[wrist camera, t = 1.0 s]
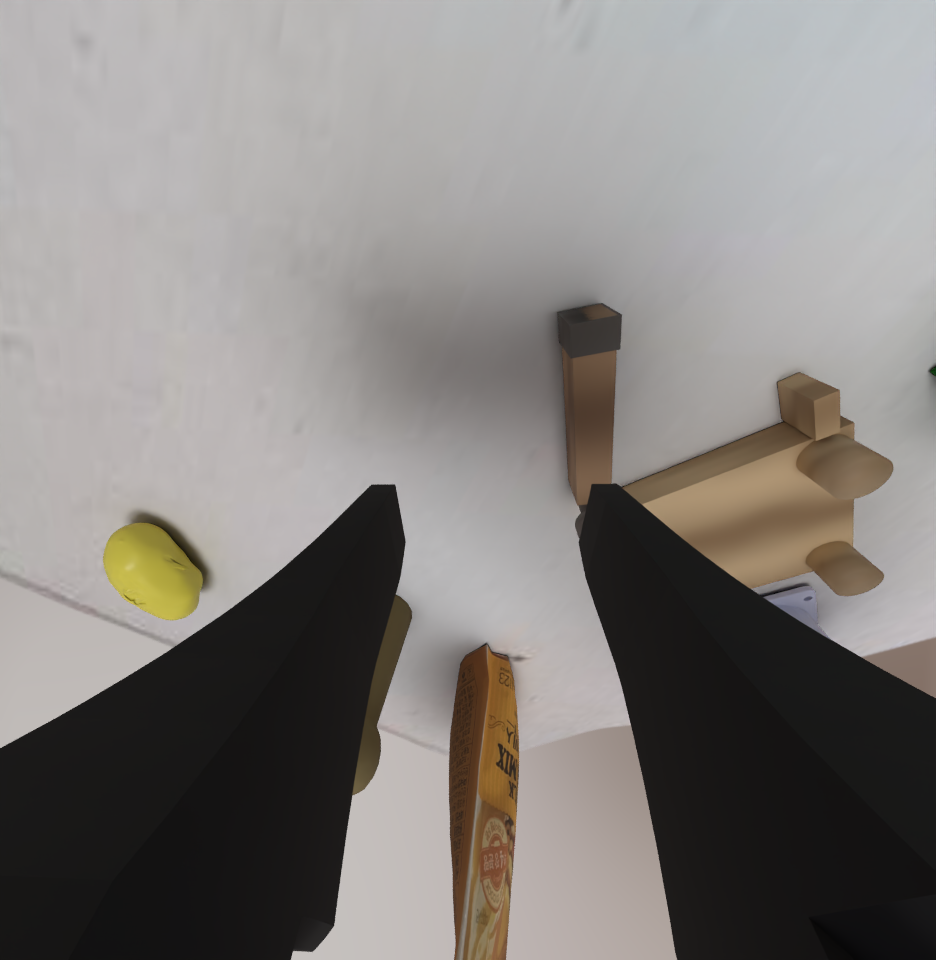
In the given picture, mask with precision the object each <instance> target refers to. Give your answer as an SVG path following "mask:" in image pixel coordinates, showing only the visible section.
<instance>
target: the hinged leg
mask: <svg viewBox="0 0 936 960" xmlns="http://www.w3.org/2000/svg"><path fill="white" fill-rule="evenodd" d="M621 321H622V315H621V314H620V313H618V312H616V311H615V310H613V309H611V308H610V307H608V306H606V305H605V304H603V303H601V304H596V305H592V306H587V307H582V308H577V309H572V310H568V311H563V312H558V329H559V343H560V344H561V346H562V354H563V376H564V397H565V419H566V440H567V461H568V480H569V483H570V486H571V489H572V492H573V495H574V497H575V500H576V503H577V506H578V505H585V504H587V503H588V499H589V494H590V489H591V485H592V484H611V478H612V453H613V427H614V402H615V376H616V351H617V350H619V349H620V343H621Z"/></svg>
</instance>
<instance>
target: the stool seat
mask: <svg viewBox="0 0 936 960" xmlns="http://www.w3.org/2000/svg"><path fill="white" fill-rule="evenodd" d="M777 383H778V392H779V400H780V409H781V418H782V420H784V421H785V422H782V423H780V424H777V425H775V426H772V427H770V428H767V429H765V430H762V431H760V432H757V433H755V434H753V435H750V436H748V437H745V438H743V439H740V440H738V441H735V442H733V443H730V444H728V445H725V446H723V447H721V448H718V449H716V450H713V451H711V452H708V453H706V454H703V455H701V456H698V457H696V458H693V459H691V460H689V461H686V462H684V463H681V464H679V465H676V466H674V467H671V468H669V469H666V470H664V471H662V472H659V473H657V474H654V475H652V476H649V477H647V478H644V479H642V480H639V481H637V482H634V483H632V484H630V485H627V486H625V487H622V488H623V489H624V490H625V491H626V492H628V493H629V494H630V495H631V496H632V497H634V498H635V499H636V500H637V501H638V502H639V503H641V504H642V505H643V506H644V507H645V508H646V509H648V510H649V511H650V512H651V513H652V514H654V515H655V516H656V517H657V518H658V519H659V520H661V521H662V522H663V523H664V524H665V525H667V526H668V527H669V528H670V529H672V530H673V531H674V532H675V533H676V534H678V535H679V536H680V537H681V538H683V539H684V540H685V541H686V542H688V543H689V544H690V545H691V546H693V547H694V548H695V549H697V550H698V551H699V552H700V553H702V554H703V555H704V556H706V557H707V558H708V559H710V560H711V561H712V562H714V563H715V564H716V565H718V566H719V567H720V568H722V569H723V570H725V571H726V572H727V573H729V574H730V575H731V576H733V577H734V578H735V579H737V580H738V581H740V582H741V583H743V584H744V585H746V586H747V587H748V588H750V589H751V588H755V587H759V586H762V585H766V584H769V583H773V582H776V581H780V580H784V579H787V578H791V577H794V576H798V575H801V574H805V573H809V572H812V571H814V572H815V573H816V574H817V575H818V576H819V577H820V578H821V579H822V580H823V581H824V582H825V583H826V584H827V585H828V586H829V587H830V588H831V589H832V590H833V591H834V592H835V593H836V594H837V595H840V596H853V595H858V594H862V593H865V592H867V591H869V590H871V589H873V588H875V587H876V586H877V585H879V584H880V583H881V582H882V580H883V578H884V574H883V572H881V571H880V570H879V569H878V568H877V567H876V566H874V565H873V564H872V563H871V562H870V561H869V560H867V559H866V558H865V557H864V556H863V555H861V554H860V553H859V552H858V551H857V550H856V549H854V548H853V509H854V499H855V498H859V497H862V496H865V495H867V494H869V493H871V492H873V491H875V490H876V489H878V488H879V487H881V486H882V485H883V484H884V483H885V482H886V481H887V480H888V479H889V477H890V476H891V474H892V472H893V464H892V462H891V461H890V460H888V459H887V458H885V457H883V456H881V455H880V454H878V453H876V452H874V451H872V450H871V449H869V448H867V447H865V446H864V445H862V444H860V443H858V442H856V441H855V440H854V422H852V421H850V420H848V419H846V418H844V417H842V416H840V390H838V389H836V388H834V387H831V386H829V385H827V384H825V383H822V382H820V381H818V380H816V379H814V378H811V377H809V376H807V375H805V374H802V373H800V372H799V373H797V374H795V375H793V376H790V377H788V378H786V379H784V380H781V381H779V382H777ZM578 506H579V508H580V511H581V514H580V515H579V516H578V517H577V519H576V522H575V527H576V530H577V533H578V536H579V538H580V535H581V530H582V526H583V521H584V517H585V512H586V508H587V504H585V505H578Z"/></svg>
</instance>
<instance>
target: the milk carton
mask: <svg viewBox="0 0 936 960" xmlns="http://www.w3.org/2000/svg"><path fill="white" fill-rule="evenodd" d="M930 372H931V373H932V374H933V375H935V376H936V367H935V368H934V369H932V370H931V371H930Z"/></svg>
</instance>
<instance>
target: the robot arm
mask: <svg viewBox="0 0 936 960" xmlns="http://www.w3.org/2000/svg"><path fill="white" fill-rule="evenodd" d="M579 546H580V552H581V557H582V562H583V567H584V571H585V576H586V580H587V583H588V586H589V589H590V592H591V595H592V598H593V601H594V604H595V607H596V610H597V613H598V616H599V619H600V621H601V624H602V627H603V630H604V633H605V636H606V639H607V642H608V645H609V648H610V651H611V653H612V656H613V659H614V662H615V665H616V669H617V672H618V675H619V679H620V682H621V685H622V689H623V694H624V698H625V702H626V706H627V710H628V714H629V718H630V723H631V727H632V731H633V735H634V739H635V744H636V749H637V753H638V758H639V762H640V767H641V771H642V775H643V780H644V785H645V790H646V795H647V800H648V805H649V810H650V815H651V819H652V825H653V830H654V834H655V840H656V844H657V850H658V855H659V861H660V867H661V872H662V877H663V883H664V889H665V894H666V899H667V905H668V911H669V917H670V922H671V929H672V935H673V941H674V947H675V953H676V957H677V960H936V698H934V697H932V696H930V695H928V694H926V693H925V692H923V691H921V690H919V689H917V688H915V687H913V686H912V685H910V684H908V683H906V682H904V681H903V680H901V679H899V678H897V677H895V676H893V675H891V674H890V673H888V672H886V671H884V670H882V669H880V668H879V667H877V666H875V665H873V664H872V663H870V662H868V661H866V660H865V659H863V658H861V657H860V656H858V655H856V654H855V653H853V652H851V651H849V650H848V649H846V648H844V647H842V646H841V645H839V644H837V643H836V642H834V641H832V640H831V639H830V638H829V637H828V636H827V635H826V633H825V632H824V631H823V630H822V629H821V628H820V626H819V625H818V615H817V603H816V592H815V590H814V589H813V588H812V587H810V586H802V587H799V588H795V589H791V590H788V591H784V592H780V593H776V594H773V595H769V596H765V597H762V596H760V595H759V594H757V593H756V592H754V591H753V590H751V589H750V588H748V587H747V586H746V585H744V584H743V583H741V582H740V581H738V580H737V579H735V578H734V577H733V576H731V575H730V574H729V573H727V572H726V571H725V570H723V569H722V568H720V567H719V566H718V565H716V564H715V563H714V562H712V561H711V560H710V559H708V558H707V557H706V556H704V555H703V554H702V553H700V552H699V551H698V550H697V549H695V548H694V547H693V546H691V545H690V544H689V543H688V542H686V541H685V540H684V539H683V538H681V537H680V536H679V535H678V534H676V533H675V532H674V531H673V530H672V529H670V528H669V527H668V526H667V525H665V524H664V523H663V522H662V521H661V520H659V519H658V518H657V517H656V516H655V515H654V514H652V513H651V512H650V511H649V510H648V509H646V508H645V507H644V506H643V505H642V504H641V503H639V502H638V501H637V500H636V499H635V498H634V497H632V496H631V495H630V494H629V493H628V492H626V491H625V490H624V489H623V488H621V487H620V486H619V485H618V484H592V485H591V489H590V494H589V499H588V503H587V508H586V512H585V517H584V521H583V526H582V530H581V535H580V539H579ZM404 549H405V536H404V531H403V525H402V520H401V514H400V508H399V503H398V497H397V492H396V486H395V485H371V486H370V487H369V488H368V489H367V490H366V491H365V492H364V493H363V494H362V495H361V496H360V497H359V498H358V499H356V500H355V501H354V502H353V503H352V504H351V505H350V506H349V508H348V509H347V510H345V511H344V512H343V513H342V514H341V515H340V516H339V517H338V518H337V519H336V520H335V521H334V522H333V523H332V524H331V525H330V526H329V527H328V528H327V529H326V530H325V531H324V532H323V533H322V534H321V535H320V536H319V537H318V538H317V539H316V540H315V541H313V542H312V543H311V544H310V545H309V546H308V547H307V548H305V549H304V550H303V551H302V552H301V553H300V554H299V555H297V556H296V557H295V558H294V559H293V560H292V561H291V562H290V563H288V564H287V565H286V566H285V567H284V568H283V569H282V570H280V571H279V572H278V573H277V574H275V575H274V576H273V577H272V578H271V579H269V580H268V581H267V582H265V583H264V584H263V585H262V586H260V587H259V588H258V589H257V590H255V591H254V592H253V593H251V594H250V595H249V596H247V597H246V598H245V599H243V600H242V601H241V602H239V603H238V604H237V605H235V606H234V607H233V608H231V609H230V610H228V611H227V612H226V613H224V614H223V615H221V616H220V617H218V618H217V619H215V620H214V621H212V622H211V623H209V624H208V625H206V626H205V627H203V628H202V629H200V630H199V631H197V632H196V633H195V634H193V635H192V636H190V637H189V638H187V639H186V640H184V641H183V642H181V643H180V644H178V645H177V646H175V647H174V648H172V649H171V650H169V651H168V652H167V653H165V654H163V655H162V656H160V657H158V658H157V659H155V660H153V661H152V662H150V663H149V664H147V665H145V666H144V667H142V668H140V669H139V670H137V671H136V672H134V673H133V674H131V675H129V676H128V677H126V678H124V679H123V680H121V681H119V682H117V683H116V684H114V685H112V686H111V687H109V688H107V689H106V690H104V691H102V692H100V693H99V694H97V695H95V696H94V697H92V698H90V699H89V700H87V701H85V702H84V703H82V704H80V705H78V706H77V707H75V708H73V709H72V710H70V711H68V712H66V713H64V714H62V715H61V716H59V717H57V718H56V719H53V720H52V721H50V722H48V723H46V724H44V725H42V726H41V727H39V728H37V729H35V730H33V731H31V732H30V733H28V734H26V735H24V736H22V737H20V738H19V739H17V740H15V741H13V742H11V743H9V744H7V745H6V746H4V747H2V748H0V960H291V956H292V952H293V951H307V952H312V951H314V950H315V949H316V948H317V947H318V946H319V944H320V943H321V942H322V941H323V940H324V939H325V937H326V936H327V935H328V933H329V932H330V931H331V929H332V928H333V926H334V923H335V914H336V907H337V898H338V891H339V884H340V877H341V869H342V861H343V855H344V847H345V840H346V833H347V826H348V819H349V813H350V806H351V800H352V794H353V787H354V781H355V774H356V768H357V762H358V757H359V751H360V745H361V739H362V733H363V727H364V722H365V716H366V711H367V705H368V700H369V695H370V689H371V684H372V679H373V675H374V671H375V666H376V662H377V658H378V655H379V651H380V648H381V644H382V641H383V637H384V634H385V630H386V627H387V623H388V620H389V616H390V613H391V609H392V605H393V602H394V598H395V595H396V591H397V587H398V584H399V580H400V576H401V569H402V563H403V556H404Z"/></svg>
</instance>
